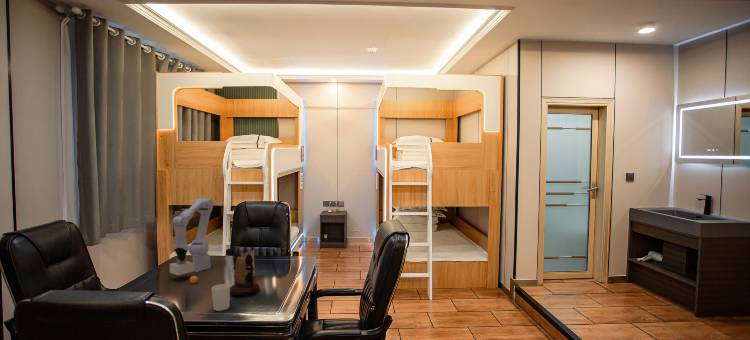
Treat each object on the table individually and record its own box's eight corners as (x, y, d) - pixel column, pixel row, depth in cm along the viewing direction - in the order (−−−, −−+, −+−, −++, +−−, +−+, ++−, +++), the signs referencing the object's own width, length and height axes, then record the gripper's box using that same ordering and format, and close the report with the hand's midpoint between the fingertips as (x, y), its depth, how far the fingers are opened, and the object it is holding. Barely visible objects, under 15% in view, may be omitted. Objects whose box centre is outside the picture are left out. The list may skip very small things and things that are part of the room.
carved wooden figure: (253, 275, 218) (252, 249, 218) (262, 277, 214) (261, 251, 214) (237, 281, 208) (236, 254, 208) (246, 283, 205) (245, 256, 204)
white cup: (224, 312, 168) (223, 290, 168) (208, 311, 170) (207, 289, 169) (234, 305, 176) (233, 284, 175) (219, 304, 177) (218, 283, 177)
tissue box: (185, 268, 219) (185, 255, 219) (193, 271, 214) (193, 257, 214) (169, 272, 212) (169, 258, 212) (177, 275, 207) (177, 261, 207)
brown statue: (222, 296, 187) (221, 256, 186) (241, 285, 201) (240, 249, 200) (247, 299, 183) (246, 259, 182) (264, 288, 197) (263, 251, 196)
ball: (196, 273, 208) (199, 277, 206) (194, 279, 209) (198, 283, 207) (189, 275, 205) (192, 280, 203) (187, 281, 206) (191, 285, 204)
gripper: (167, 237, 213) (168, 260, 214) (180, 240, 205) (181, 264, 206) (179, 234, 219) (180, 257, 220) (192, 237, 211) (193, 261, 211)
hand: (181, 260), depth 213 cm, fingers closed on tissue box
